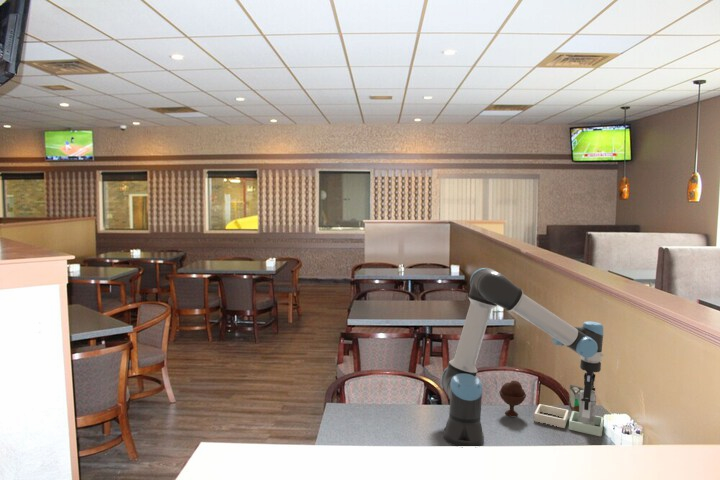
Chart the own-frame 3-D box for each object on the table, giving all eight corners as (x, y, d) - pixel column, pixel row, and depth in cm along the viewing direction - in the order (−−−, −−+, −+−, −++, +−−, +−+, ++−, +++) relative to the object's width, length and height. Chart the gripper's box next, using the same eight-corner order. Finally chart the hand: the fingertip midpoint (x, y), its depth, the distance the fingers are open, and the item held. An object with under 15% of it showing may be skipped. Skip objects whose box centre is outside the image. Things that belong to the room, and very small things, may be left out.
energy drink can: (582, 423, 213) (585, 387, 212) (596, 428, 208) (599, 392, 207) (575, 426, 209) (577, 390, 208) (589, 432, 204) (591, 395, 203)
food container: (589, 418, 218) (591, 395, 217) (574, 416, 219) (575, 394, 218) (582, 407, 230) (584, 385, 229) (568, 405, 231) (569, 384, 230)
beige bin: (533, 421, 213) (534, 413, 212) (538, 411, 223) (539, 403, 223) (564, 428, 207) (565, 420, 207) (568, 418, 218) (568, 410, 217)
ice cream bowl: (527, 413, 221) (529, 379, 220) (520, 421, 212) (522, 386, 211) (503, 407, 227) (504, 374, 226) (495, 415, 217) (497, 380, 216)
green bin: (568, 429, 206) (569, 420, 206) (571, 418, 217) (572, 410, 217) (601, 436, 201) (602, 428, 200) (603, 425, 211) (603, 417, 211)
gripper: (598, 370, 194) (595, 424, 196) (603, 354, 216) (599, 403, 217) (577, 366, 198) (573, 419, 199) (583, 351, 219) (580, 399, 221)
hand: (587, 411), depth 208 cm, fingers open, 13 cm apart
